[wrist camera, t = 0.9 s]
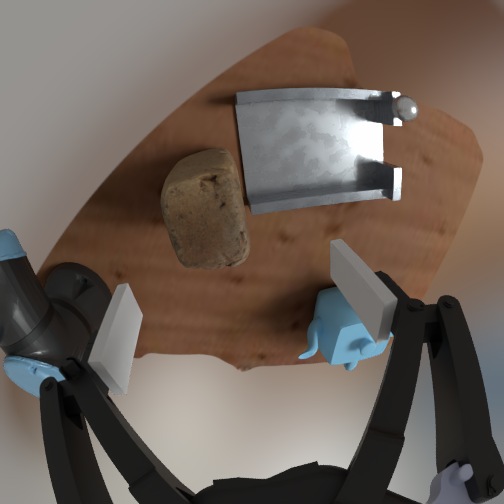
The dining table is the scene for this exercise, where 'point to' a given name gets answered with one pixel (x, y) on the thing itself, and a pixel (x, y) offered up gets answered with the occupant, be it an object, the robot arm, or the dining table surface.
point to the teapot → (339, 332)
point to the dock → (317, 146)
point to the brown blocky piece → (206, 211)
